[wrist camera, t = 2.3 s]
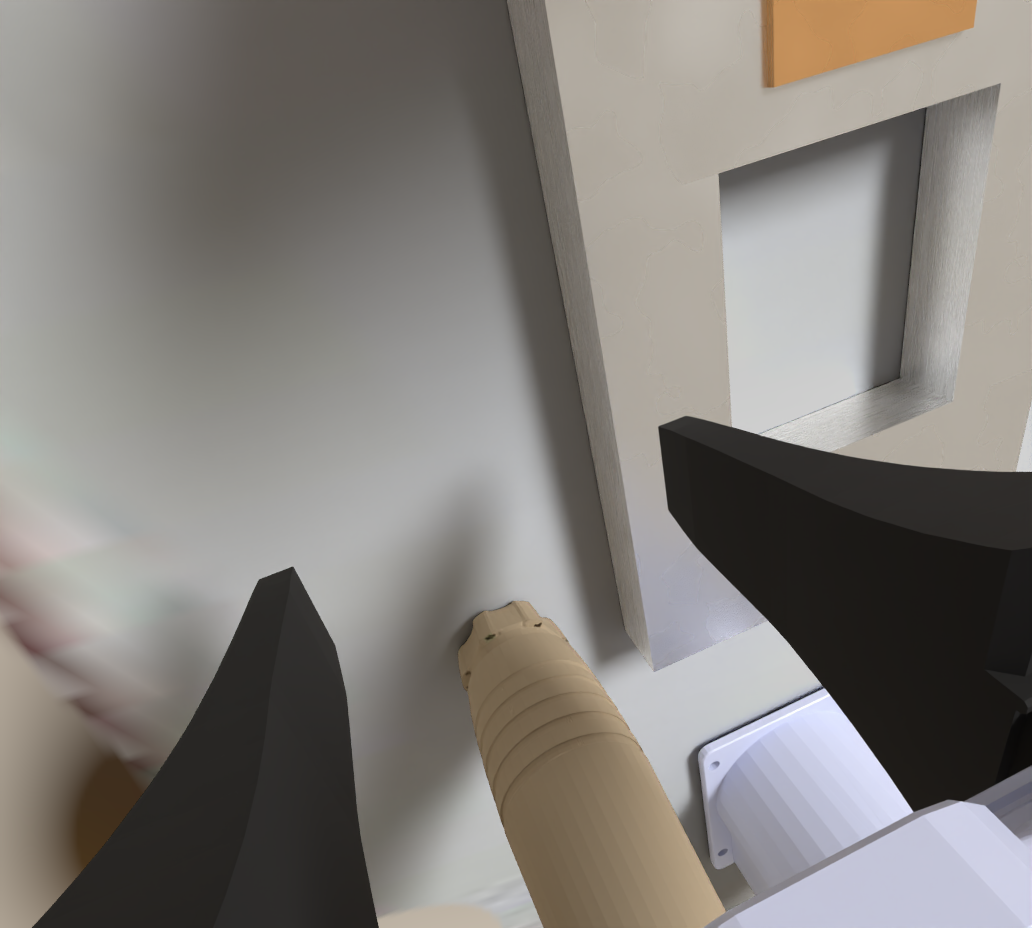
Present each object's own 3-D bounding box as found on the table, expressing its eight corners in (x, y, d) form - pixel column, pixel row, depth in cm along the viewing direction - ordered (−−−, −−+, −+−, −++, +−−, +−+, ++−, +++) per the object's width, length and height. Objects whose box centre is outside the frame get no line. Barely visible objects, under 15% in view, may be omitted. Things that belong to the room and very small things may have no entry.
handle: (565, 533, 20) (1066, 1240, 8) (581, 680, 23) (948, 1340, 11) (409, 582, 19) (697, 1492, 7) (448, 728, 22) (688, 1519, 10)
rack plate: (957, 484, 25) (1012, 515, 24) (625, 630, 23) (657, 676, 21) (1080, -250, 15) (1197, -298, 13) (484, -116, 12) (524, -152, 11)
